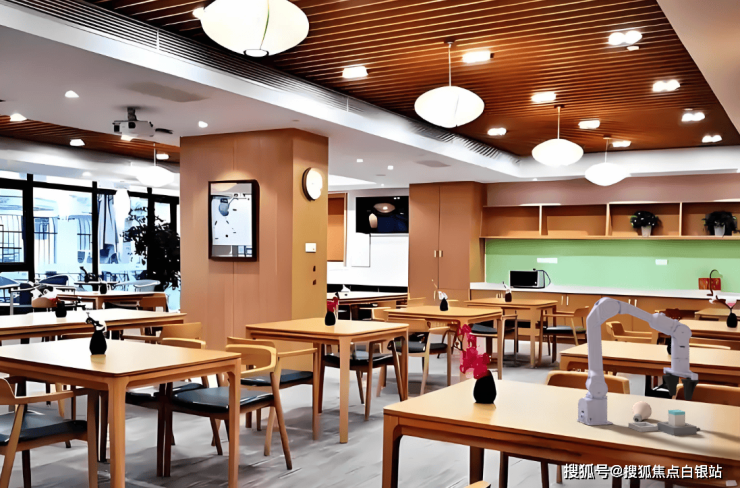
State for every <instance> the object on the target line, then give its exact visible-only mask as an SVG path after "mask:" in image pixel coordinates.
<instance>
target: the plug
mask: <svg viewBox="0 0 740 488" xmlns="http://www.w3.org/2000/svg"><path fill="white" fill-rule="evenodd" d="M667 412H668V414H667V416H668V419H667V420H668V421H667V422H668V424H669V425H672V426H685V423H686V411H684V410H681V409H668V411H667Z"/></svg>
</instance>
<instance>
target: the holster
mask: <svg viewBox="0 0 740 488" xmlns="http://www.w3.org/2000/svg"><path fill="white" fill-rule="evenodd" d="M627 424H628V428H629V429H632V430H634V431H637V432H640V433H642V432H644V433H645V432H656V431H659V430H658V426H657V424H653V423H650V422H648V421H641V422H628V423H627Z"/></svg>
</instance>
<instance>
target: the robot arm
mask: <svg viewBox="0 0 740 488" xmlns="http://www.w3.org/2000/svg"><path fill="white" fill-rule="evenodd" d="M616 315H630V316H632V317H634V318H637V319H640V320H642V321H645V322H647V323H648V325H649V327H650V329H654V330H656V331H657V332H660V333H663V334H664V335H667V336H670V337H671V344H670V345H671V346H670V347H671V348H670V353H671V354H670V356H671V357H670V358H671V359H670V360H671V361H670V362H671V365H670V366H671V367H663V375H662V379H663V380H664V382H665V383H666V387H667V390H668V395H669V396H677V388H678V387H677V386H678V381H679V379H680V381H681V384H682V386H683V395H684V396H683V397H684V400H685V401H691V400H692V399H693V395H694V392H695V390H696V388H697V385H698V384H699V383H700V382H699V381H700V380H699V374H698V373H695V372H692V370H690V339H691V337H692V335H693V332H692V330H691V328H690V327H689V326H688V325H687V324H684V323H681V321H679V320H678V319H676V318H675V319H673V318H670V317H669V316H666V313H663V312H660V313H659V312H656V313H650V312H648V311H646V310H643V309H641V308H639V307H637V306H636V305H633V304H631V303H629V302H626V301H622V300H618V299H614V298H613V297H609V296H604V297H601V298H600V299H598V300H597V301H596V302H595V303H594V305H593V307H592V308H591V310H590V312H589V313H588V314H587V316H586V319H585V320H586V321H585V323H586V339H587V359H588V360H587V361H588V362H587V363H588V364H587V365H588V371H587V379H586V381H585V388H586V389H587V391H586V394H585V397H581V398H579V400H578V402H577V418H576V421H577V422H580V423H582V424H584V425H588V426H600V425H613V422H612V421H609V420H608V395H607V394H608V391H609V388H608V387H609V386H608V384H607V383H606V381H605V374H604V364H603V345H602V324H604V323H605V322H606V321H607V320H608V319H610V318H613V317H615V316H616ZM680 377H681V378H680Z"/></svg>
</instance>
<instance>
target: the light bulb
mask: <svg viewBox="0 0 740 488" xmlns="http://www.w3.org/2000/svg"><path fill="white" fill-rule="evenodd" d="M631 410H632V414H633V417H632V420H633V421H634V423H636V422H642V421H644V420H647V419H649V418H650V417H651V416H652V413H653V411H652V407H651V405H650V404H649V403H648V402H647V401H644V400H640V401H637V402H635V403H634V404H633V406H632V409H631Z"/></svg>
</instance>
